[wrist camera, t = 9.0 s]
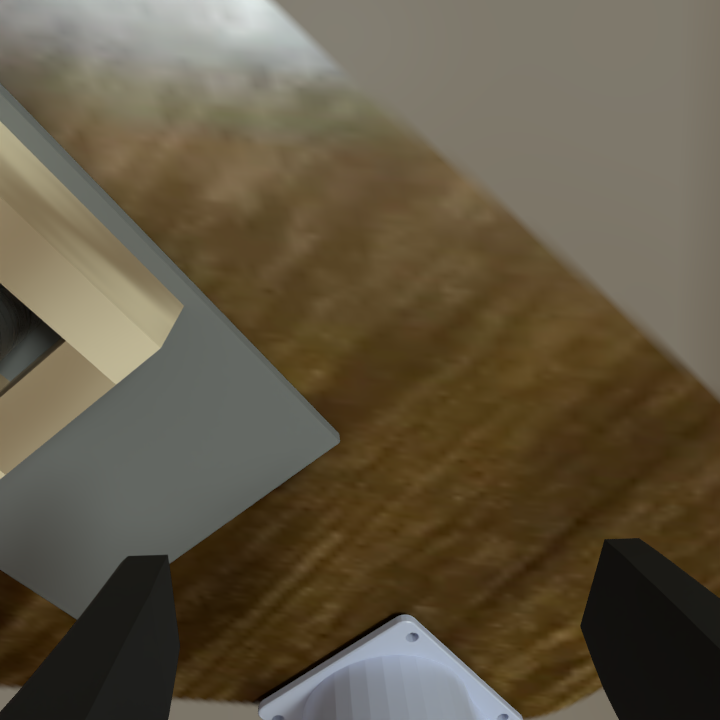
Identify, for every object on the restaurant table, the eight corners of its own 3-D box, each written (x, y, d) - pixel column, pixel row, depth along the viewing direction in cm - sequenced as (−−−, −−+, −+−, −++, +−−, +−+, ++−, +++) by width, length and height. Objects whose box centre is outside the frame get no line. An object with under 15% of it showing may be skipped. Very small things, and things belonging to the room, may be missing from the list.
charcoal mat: (339, 433, 19) (340, 442, 19) (89, 612, 22) (84, 624, 21) (-24, 59, 14) (-35, 57, 13) (-306, 351, 16) (-323, 359, 16)
